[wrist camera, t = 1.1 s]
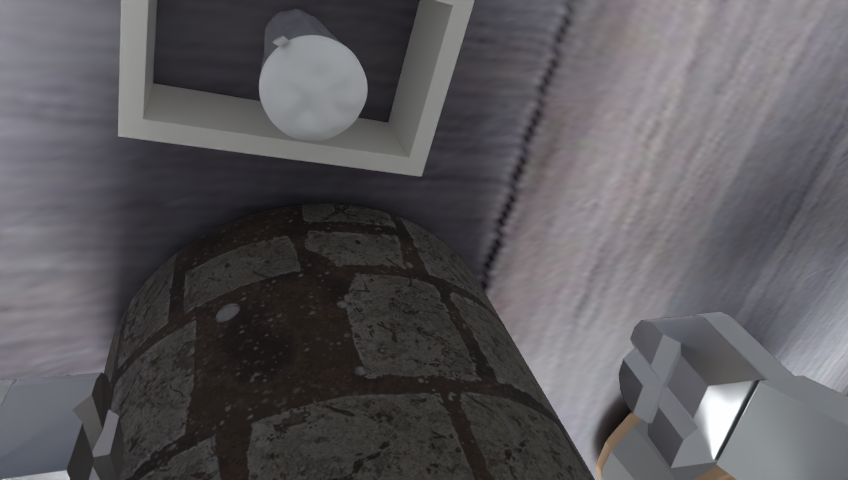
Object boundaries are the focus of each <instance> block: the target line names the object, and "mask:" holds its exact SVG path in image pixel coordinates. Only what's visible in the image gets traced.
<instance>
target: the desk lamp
mask: <svg viewBox="0 0 848 480" xmlns="http://www.w3.org/2000/svg"><path fill="white" fill-rule="evenodd" d="M716 464H717V462H711V463H704V464H697V465H689V466H682V467H675V468H670V466H669V465H668V464H667V462H666V461H665V459H664V458H663V456H662V455H661V454H660V452H659V451H658V449H657V448H656V446H655V445H654V443H653V442H652V441H651V439H650V438H649V436H648V422H646V421H644V420H643V419H641V418H639V417H638V416H636V415H634V414H633V413H632V411H631V412H630V414H629V415H628V416H627V417H626V418H625V419H624V420H623V421H622V423H621V424H620V425H619V426H618V427H617V428H616V429H615V431H614V432H613V433H612V434H611V435H610V436H609V438H608V440H607V441H606V442H605V444H604V447H603V449H602V451H601V454H600V456H599V458H598V461H597V463H596V469H597V476H598V480H737V479H735V478H734V477H733V476H731V475H730V474H729V473H727V472H726V471H725V470H723V469H722V468H720V467H719V466H718V465H716Z"/></svg>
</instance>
